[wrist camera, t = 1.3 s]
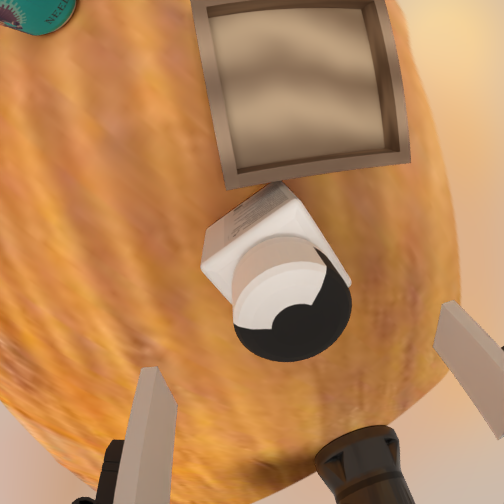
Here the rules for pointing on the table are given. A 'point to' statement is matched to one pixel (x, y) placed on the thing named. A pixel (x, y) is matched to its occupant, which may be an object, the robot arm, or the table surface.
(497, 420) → the robot arm
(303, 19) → the crate
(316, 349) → the container
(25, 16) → the beverage can
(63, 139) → the table surface
